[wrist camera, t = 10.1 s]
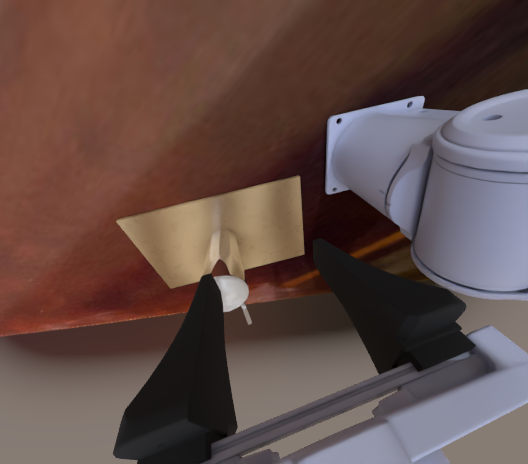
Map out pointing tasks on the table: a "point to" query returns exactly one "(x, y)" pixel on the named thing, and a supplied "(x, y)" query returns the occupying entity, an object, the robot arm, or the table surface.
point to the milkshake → (227, 270)
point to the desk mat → (221, 217)
